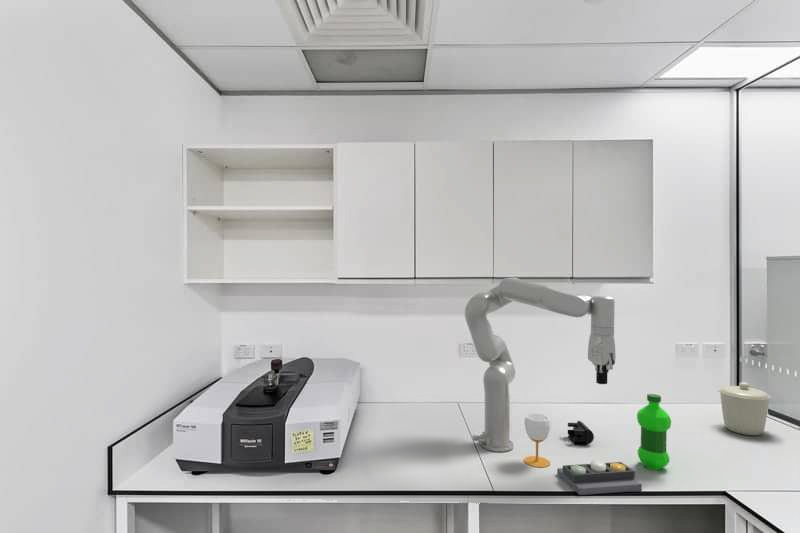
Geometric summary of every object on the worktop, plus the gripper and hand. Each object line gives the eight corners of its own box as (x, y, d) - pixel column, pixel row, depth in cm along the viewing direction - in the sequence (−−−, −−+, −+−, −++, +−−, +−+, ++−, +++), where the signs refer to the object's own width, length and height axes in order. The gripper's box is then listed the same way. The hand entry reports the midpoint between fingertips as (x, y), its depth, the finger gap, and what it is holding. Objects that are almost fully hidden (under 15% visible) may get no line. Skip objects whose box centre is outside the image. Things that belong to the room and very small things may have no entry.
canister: (762, 442, 184) (763, 390, 183) (711, 429, 198) (711, 380, 198) (776, 433, 194) (777, 383, 194) (727, 421, 209) (727, 375, 209)
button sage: (575, 479, 145) (575, 472, 145) (567, 473, 150) (567, 465, 150) (588, 479, 146) (588, 471, 146) (580, 472, 151) (580, 464, 151)
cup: (525, 455, 170) (525, 411, 170) (551, 459, 166) (551, 415, 166) (522, 465, 161) (522, 419, 161) (549, 469, 158) (550, 423, 158)
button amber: (615, 477, 147) (615, 469, 147) (607, 470, 152) (607, 463, 152) (628, 476, 148) (628, 468, 148) (619, 469, 153) (619, 462, 153)
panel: (579, 495, 141) (579, 480, 141) (557, 474, 154) (557, 461, 154) (641, 490, 144) (641, 476, 144) (614, 470, 158) (614, 457, 158)
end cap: (594, 446, 179) (594, 429, 178) (575, 446, 179) (575, 428, 179) (584, 437, 188) (584, 420, 188) (567, 436, 189) (567, 420, 189)
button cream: (595, 475, 146) (595, 467, 146) (587, 468, 151) (587, 461, 151) (608, 474, 147) (608, 466, 147) (600, 467, 152) (600, 460, 152)
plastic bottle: (653, 475, 154) (654, 401, 154) (629, 461, 165) (630, 392, 164) (677, 471, 157) (678, 398, 157) (652, 458, 167) (653, 390, 167)
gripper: (580, 328, 168) (580, 378, 168) (605, 334, 153) (604, 389, 153) (599, 328, 169) (599, 377, 169) (625, 334, 154) (625, 388, 154)
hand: (601, 383), depth 161 cm, fingers closed
